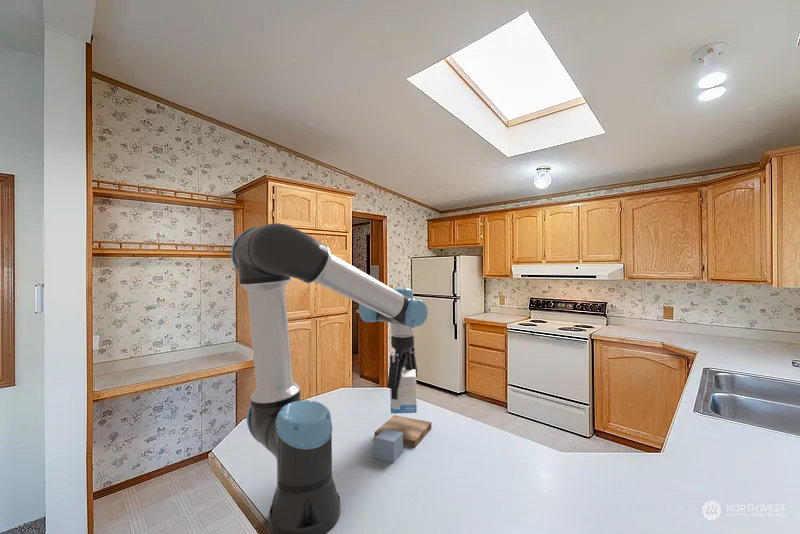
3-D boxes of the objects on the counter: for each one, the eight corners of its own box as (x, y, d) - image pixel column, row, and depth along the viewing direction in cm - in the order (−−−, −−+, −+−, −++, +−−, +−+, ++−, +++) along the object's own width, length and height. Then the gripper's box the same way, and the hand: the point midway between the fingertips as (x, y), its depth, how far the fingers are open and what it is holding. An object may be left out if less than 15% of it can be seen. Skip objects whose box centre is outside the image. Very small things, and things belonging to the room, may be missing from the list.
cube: (393, 463, 98) (393, 441, 98) (375, 458, 101) (375, 437, 101) (403, 452, 103) (402, 432, 103) (385, 448, 106) (385, 428, 106)
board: (414, 447, 106) (414, 440, 106) (374, 438, 112) (374, 431, 112) (431, 428, 119) (431, 422, 119) (394, 420, 125) (394, 415, 125)
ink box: (416, 413, 111) (416, 371, 111) (390, 413, 111) (389, 371, 111) (416, 403, 120) (415, 363, 120) (391, 403, 120) (391, 364, 120)
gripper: (397, 343, 103) (398, 418, 103) (426, 329, 124) (427, 392, 124) (375, 341, 107) (376, 413, 107) (406, 328, 127) (408, 389, 127)
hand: (403, 402), depth 115 cm, fingers closed on ink box, 11 cm apart
